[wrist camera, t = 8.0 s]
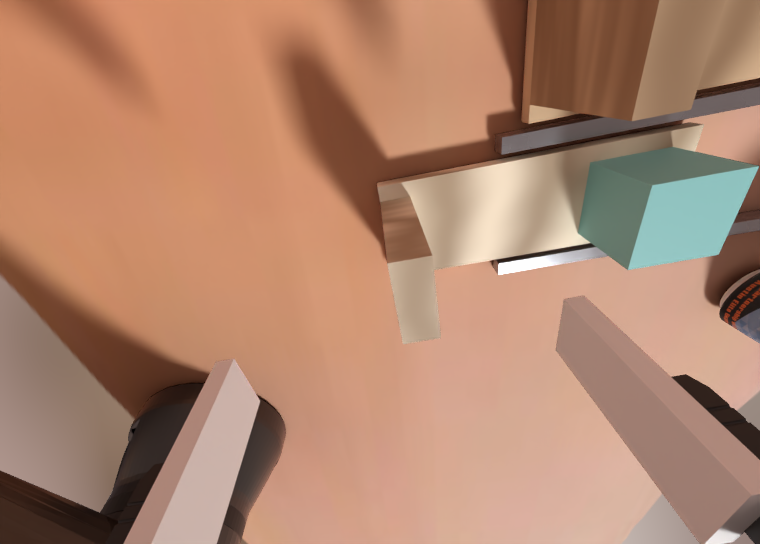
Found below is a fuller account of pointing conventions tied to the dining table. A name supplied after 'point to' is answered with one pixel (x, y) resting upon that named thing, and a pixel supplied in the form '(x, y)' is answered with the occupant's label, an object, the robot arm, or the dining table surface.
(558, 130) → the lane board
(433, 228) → the beige long angled piece
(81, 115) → the dining table surface
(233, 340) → the dining table surface
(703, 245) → the block
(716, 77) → the strip oak
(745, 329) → the beverage can
